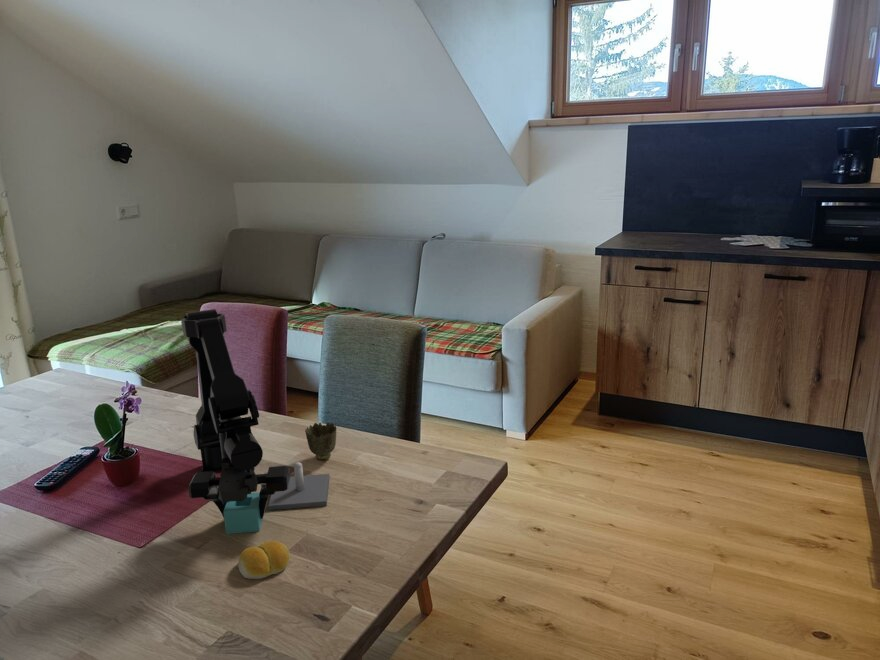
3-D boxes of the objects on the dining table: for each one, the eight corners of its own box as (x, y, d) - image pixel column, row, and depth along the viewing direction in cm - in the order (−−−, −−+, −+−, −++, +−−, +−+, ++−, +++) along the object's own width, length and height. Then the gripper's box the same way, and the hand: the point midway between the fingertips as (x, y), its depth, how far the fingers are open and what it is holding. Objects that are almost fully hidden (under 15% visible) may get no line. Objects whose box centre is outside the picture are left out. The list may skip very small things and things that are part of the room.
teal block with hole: (226, 533, 129) (223, 511, 127) (232, 516, 135) (229, 494, 134) (259, 531, 129) (256, 508, 128) (264, 513, 136) (261, 492, 134)
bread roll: (296, 568, 118) (294, 549, 117) (247, 586, 114) (245, 567, 112) (280, 546, 125) (278, 527, 124) (233, 562, 120) (231, 543, 119)
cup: (342, 451, 162) (339, 422, 160) (334, 465, 155) (332, 435, 153) (312, 451, 163) (310, 421, 161) (304, 465, 156) (301, 434, 154)
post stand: (268, 510, 137) (265, 478, 135) (276, 481, 148) (273, 452, 146) (326, 505, 138) (324, 473, 136) (329, 477, 150) (327, 448, 148)
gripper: (175, 472, 119) (187, 546, 123) (280, 464, 121) (287, 538, 125) (191, 445, 130) (201, 514, 134) (286, 438, 131) (293, 507, 136)
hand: (245, 519), depth 132 cm, fingers closed on teal block with hole, 6 cm apart
